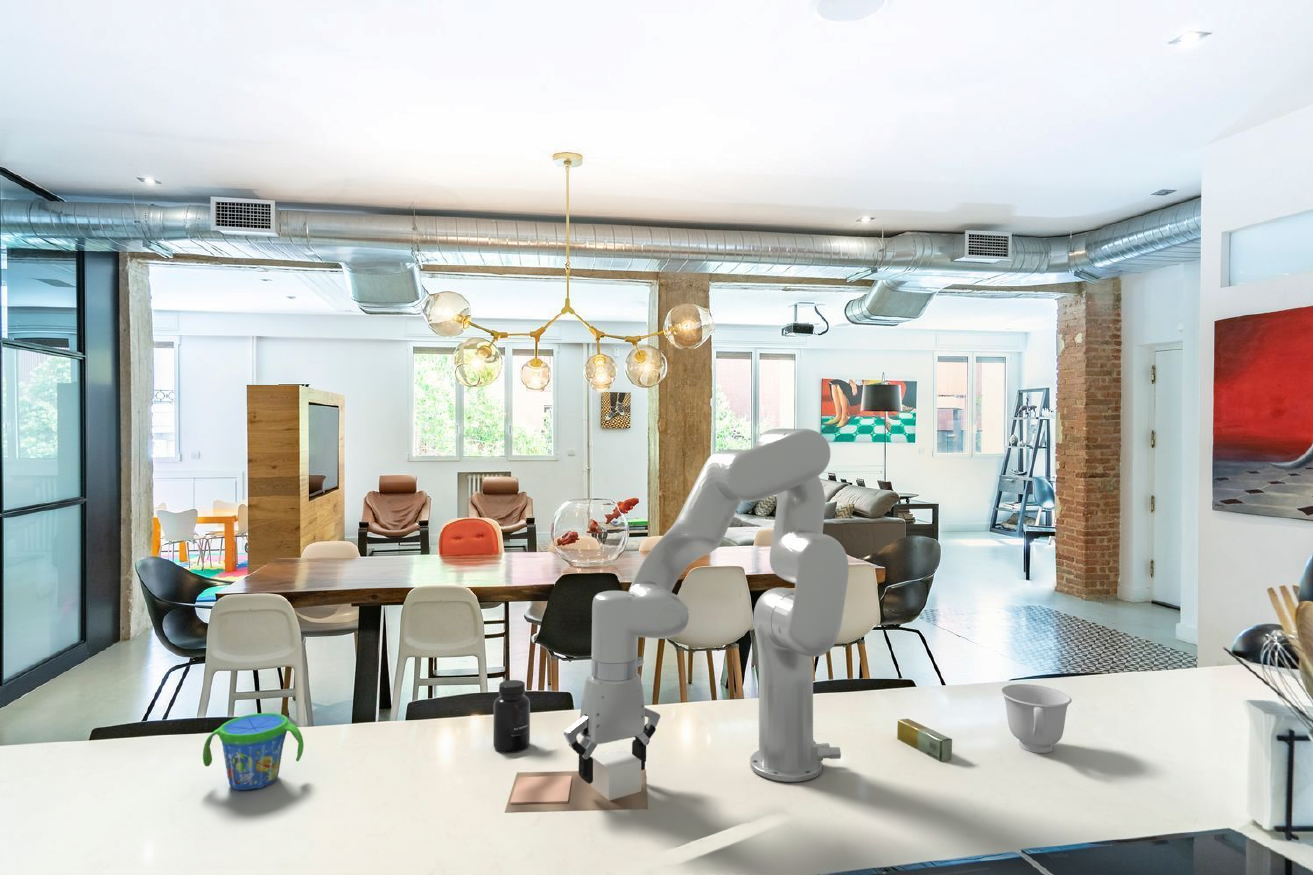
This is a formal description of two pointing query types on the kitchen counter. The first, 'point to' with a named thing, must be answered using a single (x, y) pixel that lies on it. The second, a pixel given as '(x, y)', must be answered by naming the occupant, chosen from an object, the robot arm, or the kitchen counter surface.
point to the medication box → (925, 740)
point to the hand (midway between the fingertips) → (612, 773)
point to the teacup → (1036, 715)
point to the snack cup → (253, 748)
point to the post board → (566, 794)
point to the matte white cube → (616, 774)
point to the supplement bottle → (511, 717)
